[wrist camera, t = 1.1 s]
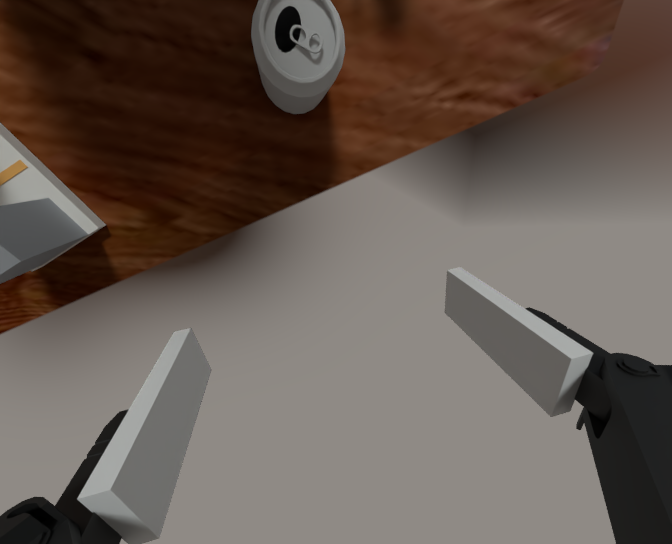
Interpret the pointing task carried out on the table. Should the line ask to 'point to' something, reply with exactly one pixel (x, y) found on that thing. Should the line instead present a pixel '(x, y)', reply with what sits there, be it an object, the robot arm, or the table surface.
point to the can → (297, 50)
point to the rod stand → (36, 212)
